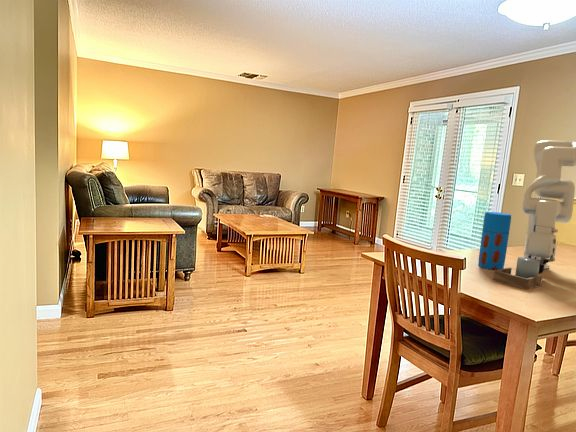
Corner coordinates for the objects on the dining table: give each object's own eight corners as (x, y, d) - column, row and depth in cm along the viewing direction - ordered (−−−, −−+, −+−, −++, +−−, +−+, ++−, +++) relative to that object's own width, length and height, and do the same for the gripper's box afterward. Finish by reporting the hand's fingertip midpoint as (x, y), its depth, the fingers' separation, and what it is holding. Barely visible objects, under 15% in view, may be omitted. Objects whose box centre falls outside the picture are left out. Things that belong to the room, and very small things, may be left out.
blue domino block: (506, 271, 183) (515, 216, 179) (481, 268, 185) (488, 213, 181) (499, 265, 193) (507, 213, 190) (475, 263, 195) (482, 211, 192)
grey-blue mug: (526, 275, 178) (530, 255, 177) (546, 280, 172) (550, 259, 170) (510, 279, 170) (513, 257, 169) (531, 284, 164) (534, 262, 163)
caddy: (507, 276, 174) (509, 267, 173) (540, 285, 163) (542, 275, 163) (492, 280, 167) (494, 270, 166) (526, 289, 156) (527, 279, 156)
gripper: (568, 233, 167) (561, 276, 170) (528, 226, 180) (521, 267, 182) (560, 234, 163) (552, 278, 165) (519, 227, 176) (513, 268, 178)
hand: (536, 272), depth 174 cm, fingers closed on grey-blue mug
